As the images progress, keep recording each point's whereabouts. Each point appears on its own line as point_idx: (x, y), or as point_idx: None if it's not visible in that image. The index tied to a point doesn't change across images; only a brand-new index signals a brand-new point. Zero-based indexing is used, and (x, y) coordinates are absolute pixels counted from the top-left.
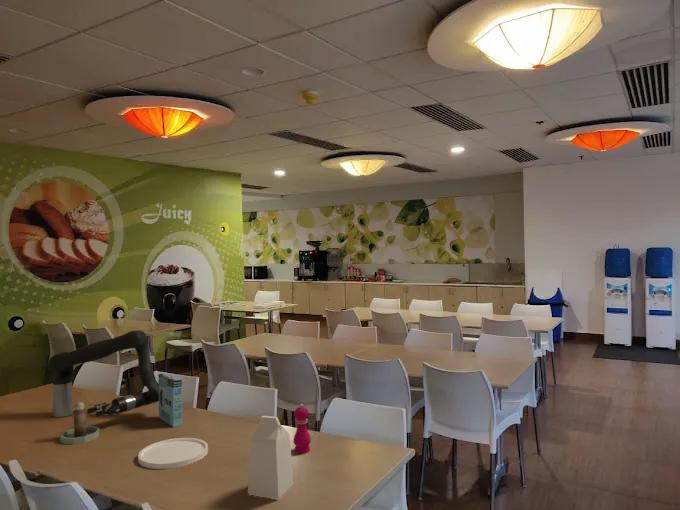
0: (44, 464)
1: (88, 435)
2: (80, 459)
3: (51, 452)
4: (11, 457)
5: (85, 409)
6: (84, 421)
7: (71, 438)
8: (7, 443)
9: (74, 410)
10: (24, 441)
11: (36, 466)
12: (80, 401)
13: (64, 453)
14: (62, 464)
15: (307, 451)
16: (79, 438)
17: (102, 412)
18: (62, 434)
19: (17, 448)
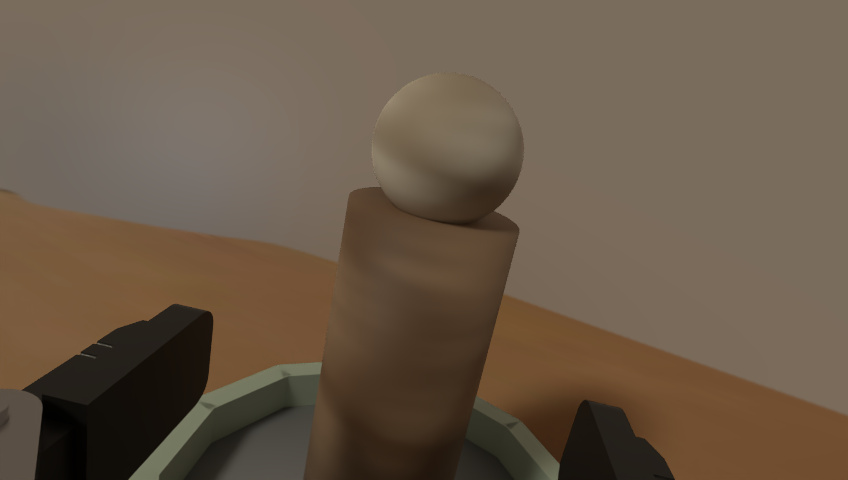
0: (206, 249)
1: (173, 434)
2: (5, 274)
3: (308, 317)
4: None
5: (381, 215)
6: (324, 353)
7: (303, 365)
8: (693, 364)
9: (491, 212)
10: (667, 392)
11: (230, 242)
12: (470, 78)
13: None
14: (97, 247)
15: None
16: (234, 388)
17: (65, 376)
18: (486, 410)
19: (556, 333)
